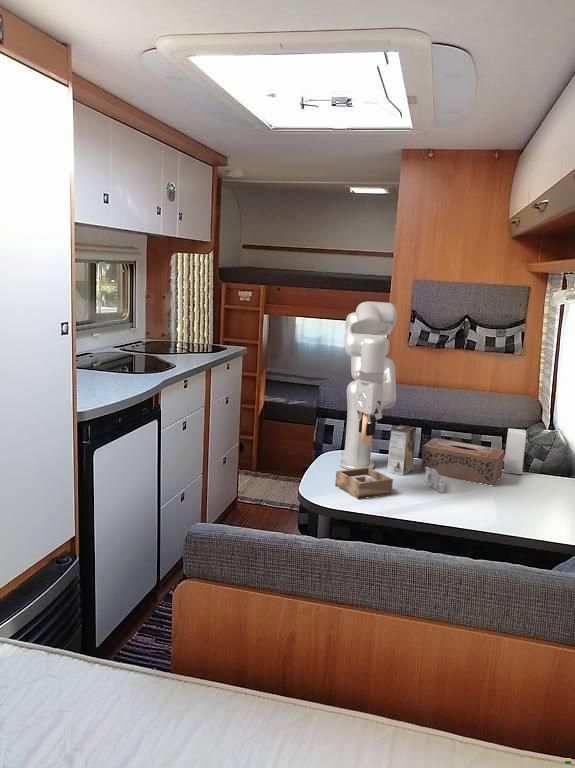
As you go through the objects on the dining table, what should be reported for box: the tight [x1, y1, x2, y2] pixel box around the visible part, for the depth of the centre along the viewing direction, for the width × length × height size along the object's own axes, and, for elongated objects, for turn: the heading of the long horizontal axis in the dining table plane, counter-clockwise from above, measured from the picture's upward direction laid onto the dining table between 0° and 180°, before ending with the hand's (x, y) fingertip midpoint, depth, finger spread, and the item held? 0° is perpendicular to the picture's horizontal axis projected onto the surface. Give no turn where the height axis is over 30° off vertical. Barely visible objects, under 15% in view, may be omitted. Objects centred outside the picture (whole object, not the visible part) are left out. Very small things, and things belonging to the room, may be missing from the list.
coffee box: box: [387, 424, 417, 476], centre depth 220 cm, size 9×6×16 cm
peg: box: [361, 413, 374, 444], centre depth 195 cm, size 3×3×12 cm
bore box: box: [334, 467, 394, 500], centre depth 198 cm, size 13×13×5 cm
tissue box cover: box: [420, 437, 505, 487], centre depth 221 cm, size 26×14×10 cm, turn 62°
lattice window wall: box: [424, 467, 445, 494], centre depth 205 cm, size 12×2×6 cm, turn 13°
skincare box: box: [503, 428, 527, 475], centre depth 228 cm, size 8×7×16 cm
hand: (366, 433), depth 195 cm, fingers closed on peg, 3 cm apart
